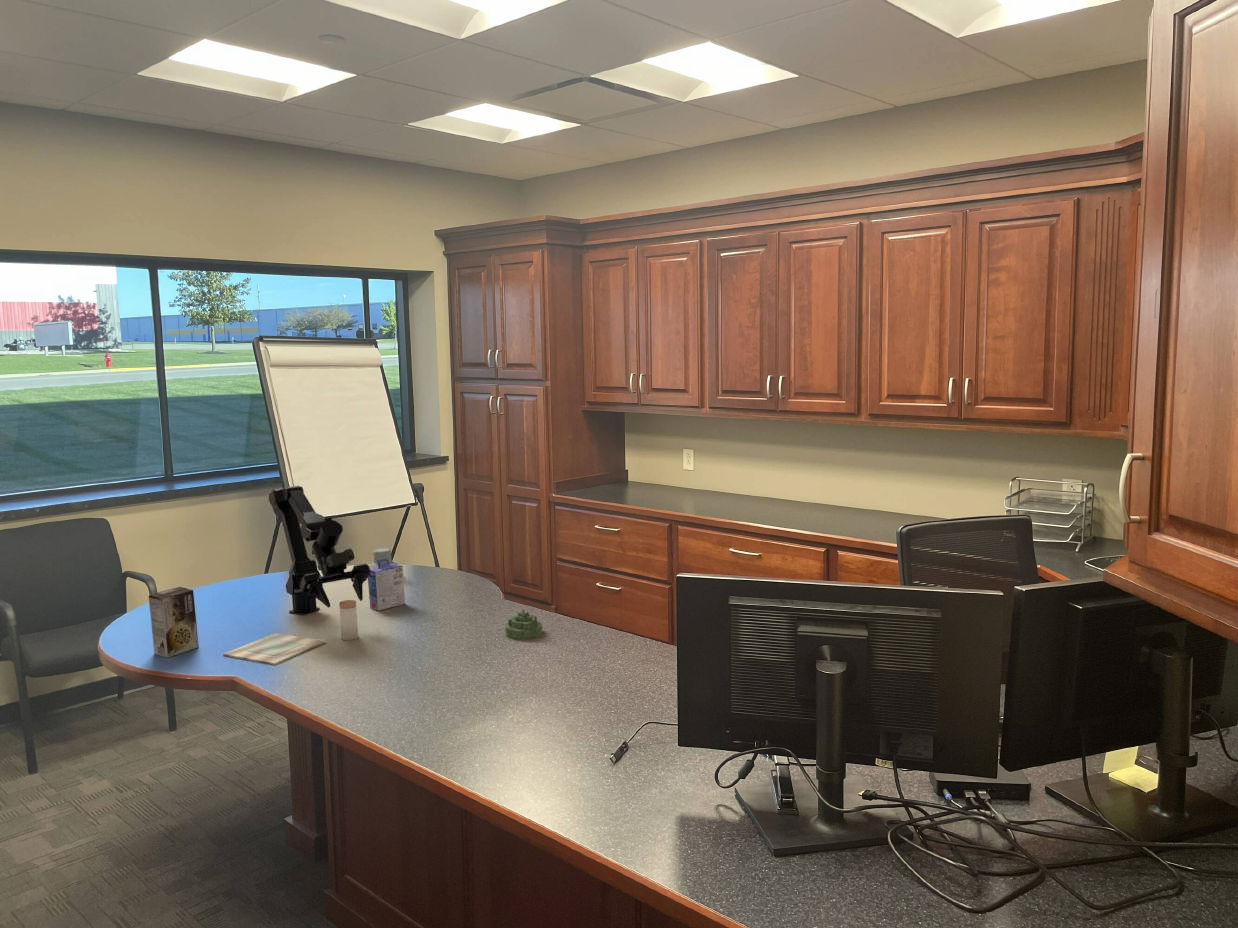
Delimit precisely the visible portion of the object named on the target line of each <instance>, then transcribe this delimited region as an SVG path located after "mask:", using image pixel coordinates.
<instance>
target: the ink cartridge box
mask: <svg viewBox="0 0 1238 928" xmlns="http://www.w3.org/2000/svg"><path fill="white" fill-rule="evenodd" d="M382 561H386V562H387V563H385V564H380V562H382ZM377 563H378V567H377V568H373V569H370V570H371V571H370V573H369V575H368V578H367V585H368V596H369V597H368V598H369V608H370V609H372V610H375V611H383V610H386V609H390V608H394V607H398V606H402V605H405V604H406V597H405V596H406V594H405V582H404V578H405V577H404V566H403V565H400V564H398V563H397V564H389V562H388V560H387V558H386V559H381V560H377Z"/></svg>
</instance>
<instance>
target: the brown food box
mask: <svg viewBox="0 0 1238 928" xmlns="http://www.w3.org/2000/svg"><path fill="white" fill-rule="evenodd" d="M148 602H149V612H150V622H151V623H150V625H151V634H152V644H153V653H154V655H158V656H161V657H164V658H166V659H167V658H171V657H174V656H177V655H179V654H182V653H185V652H188V651H192V650H194V649H197V648H199V647H200V645H199V635H198V626H197V616H196V606H195V595H194V589H191V588H187V587H182V586H178V587H174V588H173V587H172V588H171V589H167V590H163V591H159V592H156V593H151V594H148Z"/></svg>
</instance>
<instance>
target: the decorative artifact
mask: <svg viewBox="0 0 1238 928" xmlns="http://www.w3.org/2000/svg"><path fill="white" fill-rule="evenodd" d="M507 622H508V623H506V624H505V637H506V638H508V639H512V640H518V641H519V640H522V641H525V640H530V639H531V640H533V639H535V638H539V637H540V636H541V635H542V634H543V624H542V622H541V621H539V620H538V617H537V615H534V614H533V615H532V614H530V613H529V612H528V611H525V609H524V608H523V609H522V610H521V612H520V611H519V612H518V613H517V615H514V616H511V617H509V618H508V621H507Z"/></svg>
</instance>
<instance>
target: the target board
mask: <svg viewBox="0 0 1238 928" xmlns="http://www.w3.org/2000/svg"><path fill="white" fill-rule="evenodd" d="M326 642H327V641H326V640H321V639H317V638H309V637H302V636H296V635H290V634H283V633H278V632H277V633H276V632H275V633H272V634H270V635H267V636H265V637H262V638H260V639H258V640H256V641H252V642H250V643H247V644H244V645H243V646H240V647H237V648H234V649H233V650H229V651H226V652H224V653H223V654H222V655H223V657H229V658H234V659H238V660H239V659H240V660H246V661H250V662H256V663H262V664H267V665H272V666H276V665H278V664H281V663H282V662H285V661H287V660H290V659H293V658H294V657H297V656H298V655H302V654H304V653H306V652H308V651H310V650H313V649H316V648H317V647H320V646H322V645H325V644H326Z"/></svg>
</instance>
